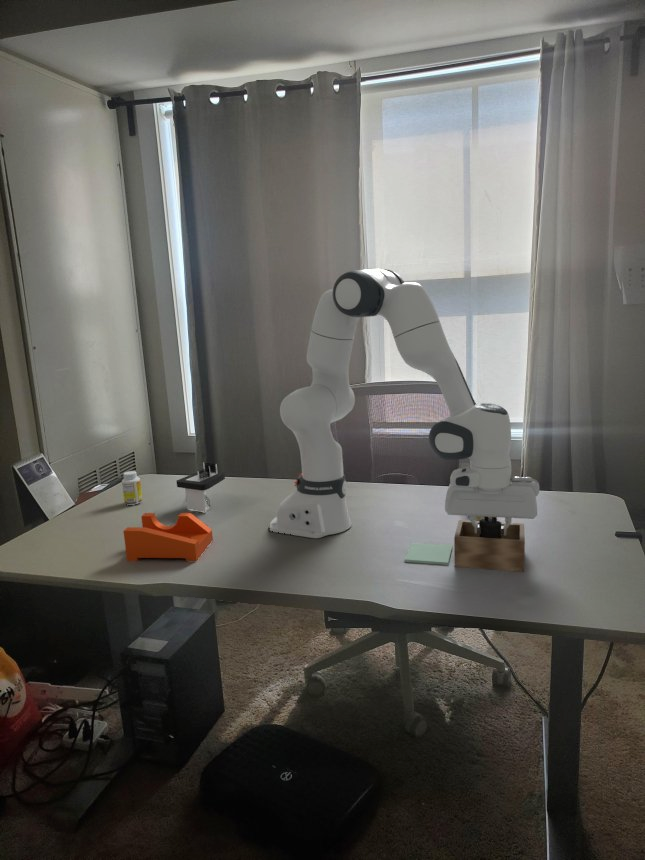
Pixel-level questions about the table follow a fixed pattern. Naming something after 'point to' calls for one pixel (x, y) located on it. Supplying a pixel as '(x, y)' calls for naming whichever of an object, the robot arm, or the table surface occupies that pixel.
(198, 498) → the black-topped pedestal
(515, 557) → the access box
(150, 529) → the orange cradle stand
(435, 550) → the place mat
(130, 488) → the supplement bottle
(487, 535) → the walkie-talkie
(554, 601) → the table surface
